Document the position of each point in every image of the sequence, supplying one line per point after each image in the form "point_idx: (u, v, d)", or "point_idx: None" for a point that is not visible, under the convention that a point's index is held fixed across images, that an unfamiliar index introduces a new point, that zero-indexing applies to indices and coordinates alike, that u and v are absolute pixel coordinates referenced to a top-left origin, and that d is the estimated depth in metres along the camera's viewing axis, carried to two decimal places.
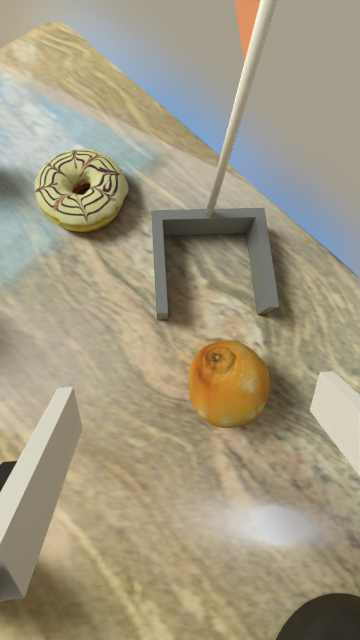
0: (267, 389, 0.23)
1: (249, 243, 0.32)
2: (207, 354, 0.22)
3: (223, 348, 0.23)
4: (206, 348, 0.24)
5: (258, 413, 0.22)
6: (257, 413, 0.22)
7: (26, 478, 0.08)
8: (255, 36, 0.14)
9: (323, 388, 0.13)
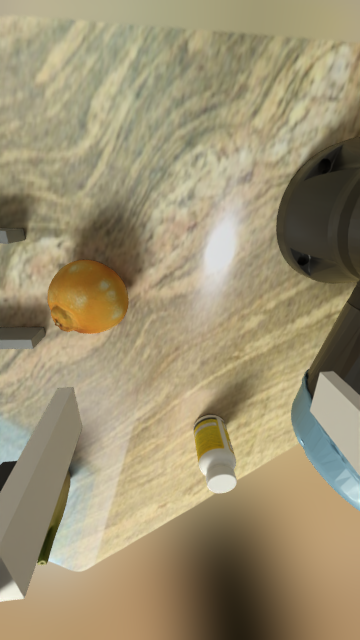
0: (88, 276, 0.24)
1: None
2: (58, 326, 0.26)
3: (51, 313, 0.25)
4: None
5: (110, 286, 0.25)
6: (109, 288, 0.25)
7: (26, 478, 0.08)
8: None
9: (323, 388, 0.13)
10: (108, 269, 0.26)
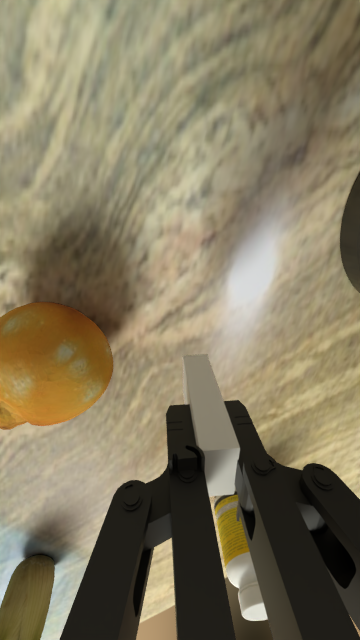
0: (35, 338, 0.14)
1: None
2: None
3: None
4: None
5: (75, 353, 0.14)
6: (74, 356, 0.14)
7: (206, 411, 0.11)
8: None
9: None
10: (75, 318, 0.16)
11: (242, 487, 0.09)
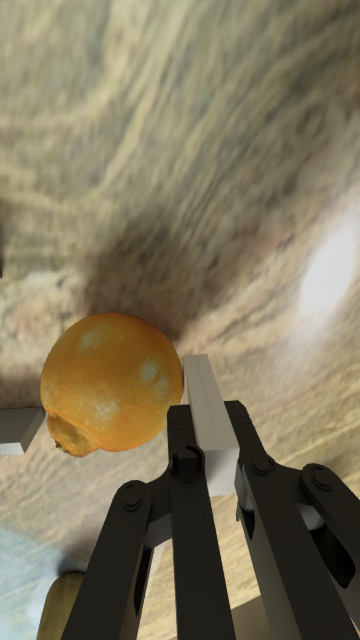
0: (117, 356, 0.12)
1: None
2: None
3: (48, 426, 0.13)
4: None
5: (159, 371, 0.13)
6: (158, 375, 0.13)
7: (206, 411, 0.11)
8: None
9: None
10: (150, 331, 0.14)
11: (242, 487, 0.09)
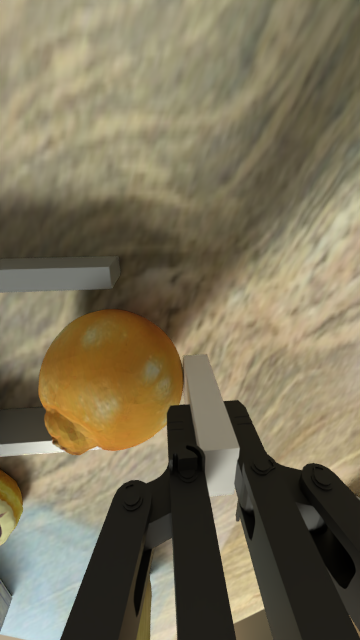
0: (120, 353, 0.12)
1: None
2: None
3: (45, 422, 0.13)
4: None
5: (161, 371, 0.13)
6: (161, 375, 0.13)
7: (206, 411, 0.11)
8: None
9: None
10: (153, 330, 0.14)
11: (242, 487, 0.09)
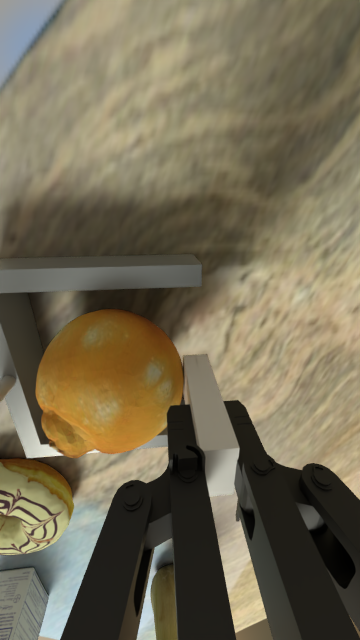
0: (122, 355, 0.12)
1: None
2: None
3: (42, 423, 0.12)
4: None
5: (163, 373, 0.12)
6: (162, 377, 0.12)
7: (206, 411, 0.11)
8: None
9: None
10: (155, 331, 0.14)
11: (242, 487, 0.09)
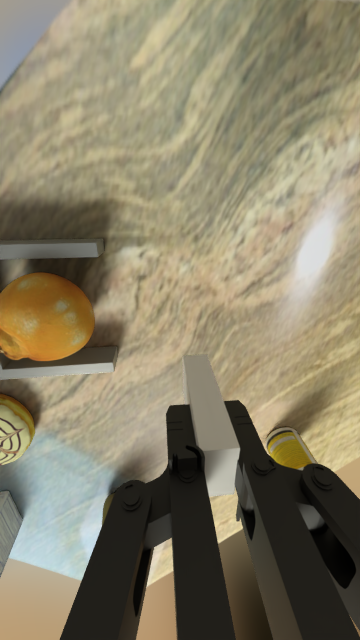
0: (41, 294, 0.20)
1: None
2: None
3: None
4: None
5: (68, 307, 0.21)
6: (68, 310, 0.20)
7: (206, 411, 0.11)
8: None
9: None
10: (69, 285, 0.22)
11: (242, 487, 0.09)
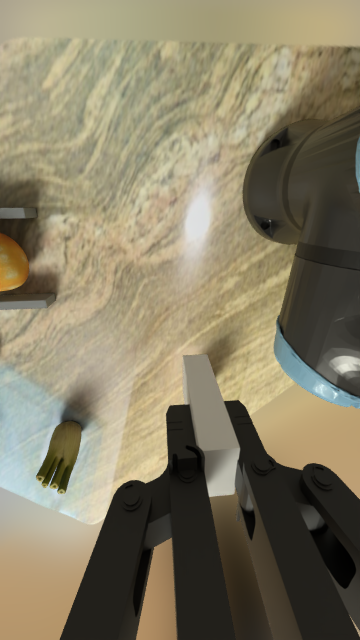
0: None
1: None
2: None
3: None
4: None
5: (2, 251, 0.30)
6: (1, 252, 0.30)
7: (206, 411, 0.11)
8: None
9: None
10: (5, 238, 0.32)
11: (242, 487, 0.09)
